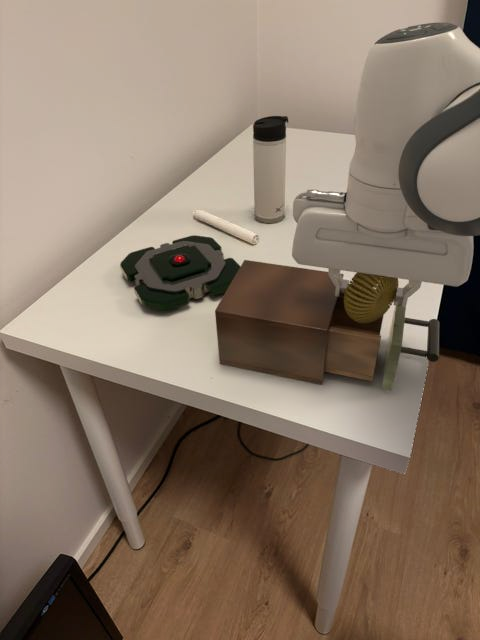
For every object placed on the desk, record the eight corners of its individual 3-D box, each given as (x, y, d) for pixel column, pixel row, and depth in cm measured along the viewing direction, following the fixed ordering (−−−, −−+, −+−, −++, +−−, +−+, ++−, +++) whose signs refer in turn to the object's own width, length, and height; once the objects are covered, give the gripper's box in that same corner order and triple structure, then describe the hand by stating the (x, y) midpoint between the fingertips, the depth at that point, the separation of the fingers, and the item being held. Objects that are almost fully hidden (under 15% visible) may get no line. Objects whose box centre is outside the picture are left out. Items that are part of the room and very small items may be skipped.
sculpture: (375, 299, 66) (383, 248, 61) (399, 312, 64) (410, 261, 59) (334, 323, 63) (340, 271, 58) (358, 339, 60) (366, 286, 55)
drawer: (431, 340, 69) (444, 296, 64) (429, 398, 61) (444, 353, 56) (306, 318, 74) (309, 276, 69) (288, 370, 66) (290, 326, 61)
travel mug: (286, 223, 99) (289, 122, 87) (254, 224, 100) (252, 124, 87) (285, 209, 104) (287, 112, 91) (254, 210, 104) (252, 113, 92)
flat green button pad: (251, 288, 82) (250, 266, 79) (150, 322, 76) (145, 299, 73) (207, 242, 95) (205, 221, 92) (117, 268, 89) (112, 246, 86)
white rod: (189, 218, 103) (188, 207, 101) (197, 214, 104) (196, 204, 102) (252, 246, 93) (251, 235, 91) (259, 242, 94) (259, 231, 92)
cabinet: (337, 326, 74) (343, 273, 68) (322, 384, 65) (327, 330, 58) (246, 310, 78) (244, 259, 71) (219, 363, 68) (214, 310, 62)
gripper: (287, 199, 53) (284, 300, 62) (490, 221, 48) (455, 328, 56) (299, 177, 58) (295, 273, 66) (486, 194, 52) (454, 297, 61)
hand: (370, 299), depth 61 cm, fingers closed on sculpture, 6 cm apart
